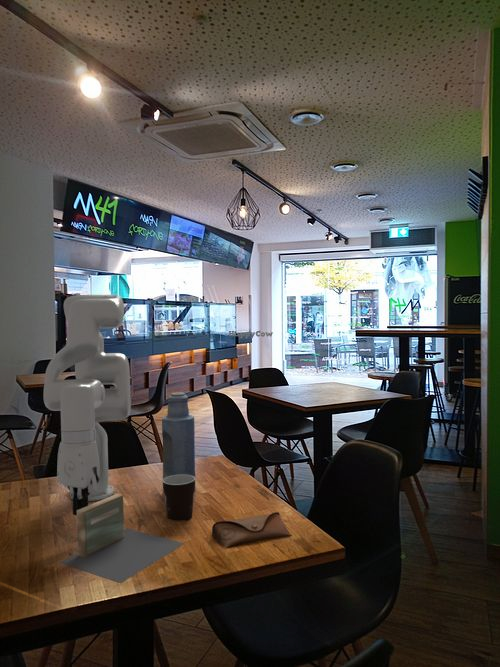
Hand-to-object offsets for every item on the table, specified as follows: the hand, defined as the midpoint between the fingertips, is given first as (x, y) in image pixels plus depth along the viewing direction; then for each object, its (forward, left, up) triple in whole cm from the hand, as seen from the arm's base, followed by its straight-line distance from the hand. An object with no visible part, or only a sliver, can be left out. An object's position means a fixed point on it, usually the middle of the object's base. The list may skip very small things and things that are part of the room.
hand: (80, 513), depth 119 cm
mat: (+14, 0, -7) cm, 15 cm away
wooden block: (+7, 0, -6) cm, 9 cm away
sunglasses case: (+34, +22, -7) cm, 41 cm away
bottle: (-1, +38, -7) cm, 39 cm away
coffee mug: (+11, +24, -7) cm, 27 cm away
